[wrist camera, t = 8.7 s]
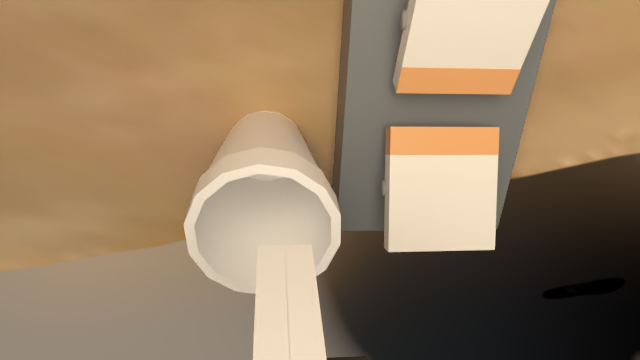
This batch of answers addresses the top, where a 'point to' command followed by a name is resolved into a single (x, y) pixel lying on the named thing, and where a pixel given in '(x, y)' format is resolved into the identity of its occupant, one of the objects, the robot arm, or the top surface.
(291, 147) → the foam cup
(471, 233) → the block
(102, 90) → the top surface
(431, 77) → the panel
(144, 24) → the top surface
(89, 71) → the top surface
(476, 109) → the switch unit
